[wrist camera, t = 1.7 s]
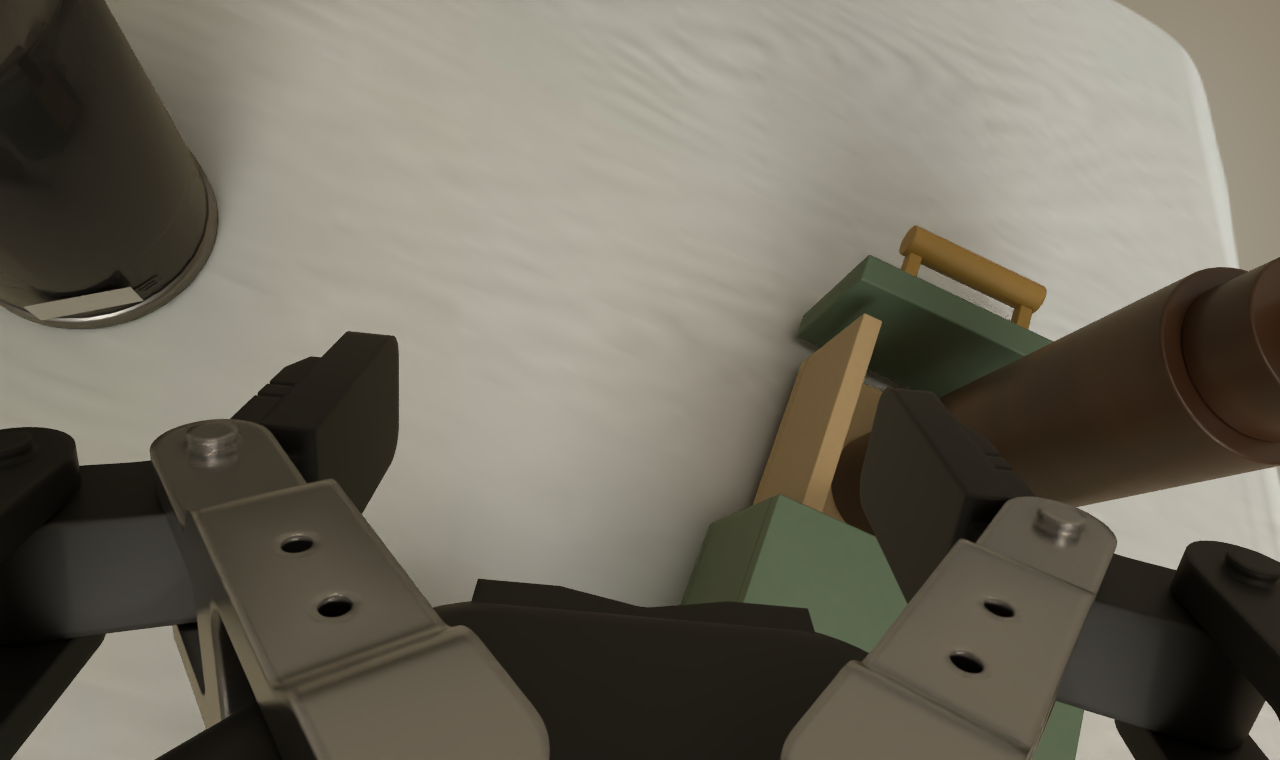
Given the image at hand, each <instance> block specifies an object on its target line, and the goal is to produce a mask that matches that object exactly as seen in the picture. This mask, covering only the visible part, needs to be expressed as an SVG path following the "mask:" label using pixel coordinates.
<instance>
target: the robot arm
mask: <svg viewBox="0 0 1280 760" xmlns="http://www.w3.org/2000/svg"><path fill="white" fill-rule="evenodd" d="M216 231H217V205H216V200H215V196H214V193H213V190H212V187H211V185H210V183H209V181H208V179H207V177H206V175H205V173H204V171H203V169H202V168H201V166H200V164H199V163H198V161H197V160H196V158H195V157H194V155H193V154H192V153H191V152H190V151H189V149H188V148H187V146H186V145H185V143H184V141H183V139H182V138H181V136H180V134H179V132H178V130H177V128H176V126H175V124H174V122H173V121H172V119H171V117H170V115H169V114H168V112H167V110H166V108H165V107H164V105H163V103H162V101H161V99H160V98H159V96H158V94H157V92H156V91H155V89H154V87H153V85H152V84H151V82H150V80H149V78H148V76H147V75H146V73H145V71H144V69H143V68H142V66H141V64H140V62H139V60H138V59H137V57H136V55H135V53H134V52H133V50H132V48H131V46H130V45H129V43H128V41H127V39H126V37H125V36H124V34H123V32H122V30H121V29H120V27H119V25H118V23H117V22H116V20H115V18H114V16H113V14H112V13H111V11H110V9H109V7H108V6H107V4H106V2H105V0H0V305H1V306H3V307H4V308H6V309H7V310H9V311H11V312H12V313H14V314H16V315H18V316H20V317H23V318H25V319H28V320H30V321H33V322H37V323H40V324H43V325H48V326H53V327H59V328H68V329H91V328H101V327H108V326H113V325H118V324H122V323H125V322H128V321H132V320H135V319H137V318H140V317H142V316H145V315H147V314H149V313H151V312H153V311H155V310H157V309H158V308H160V307H162V306H163V305H165V304H167V303H168V302H169V301H171V300H172V299H173V298H175V297H176V296H177V295H179V294H180V293H181V292H182V291H183V290H184V289H185V288H186V287H187V286H188V285H189V284H190V283H191V282H192V281H193V280H194V279H195V277H196V276H197V275H198V273H199V272H200V271H201V269H202V267H203V266H204V264H205V263H206V261H207V259H208V257H209V254H210V252H211V250H212V247H213V244H214V241H215V236H216ZM398 430H399V351H398V343H397V340H396V338H395V336H390V335H380V334H370V333H360V332H351V331H348V332H346V333H345V334H344V335H343V336H342V337H341V338H340V339H339V340H338V341H337V342H336V343H335V344H334V345H333V346H332V347H331V348H330V349H329V350H328V351H327V352H326V353H325V354H324V355H323V356H322V357H308V358H306V359H303V360H301V361H299V362H296V363H294V364H291V365H289V366H286V367H285V368H283V369H282V370H281V371H280V372H279V373H278V374H277V375H276V376H275V377H274V378H273V379H272V380H271V381H270V384H266V385H265V386H264V387H263V388H262V389H261V390H260V391H259V392H258V396H256V395H255V396H254V397H253V398H252V399H251V400H249V401H248V402H247V403H246V404H245V405H244V406H243V407H242V408H241V409H240V410H239V411H238V412H237V413H236V414H235V415H234V416H232V417H231V418H230V419H215V420H205V421H199V422H194V423H189V424H186V425H182V426H179V427H176V428H174V429H171V430H169V431H167V432H165V433H164V434H162V435H160V436H159V437H158V438H157V439H156V440H154V442H153V443H152V445H151V447H150V456H151V460H150V461H143V462H132V463H117V464H101V465H85V466H79V463H78V457H77V451H76V445H75V441H74V439H73V438H72V437H71V436H70V435H68V434H66V433H64V432H61V431H58V430H54V429H49V428H39V427H21V428H9V429H1V430H0V760H11V758H12V757H13V756H14V755H15V753H16V752H17V751H18V750H19V748H20V747H21V746H22V744H23V743H24V742H25V741H26V739H27V738H28V737H29V735H30V734H31V733H32V732H33V730H34V729H35V728H36V727H37V725H38V724H39V723H40V721H41V720H42V719H43V718H44V716H45V715H46V714H47V712H48V711H49V710H50V709H51V707H52V706H53V705H54V704H55V702H56V701H57V700H58V698H59V697H60V696H61V695H62V693H63V692H64V691H65V689H66V688H67V687H68V686H69V684H70V683H71V682H72V681H73V679H74V678H75V677H76V675H77V674H78V673H79V672H80V670H81V669H82V668H83V666H84V665H85V664H86V663H87V661H88V660H89V659H90V658H91V656H92V655H93V654H94V652H95V651H96V650H97V649H98V647H99V646H100V645H101V643H102V641H103V640H104V637H105V635H106V633H113V632H121V631H129V630H137V629H145V628H153V627H161V626H169V625H172V626H173V633H174V639H175V641H176V644H177V647H178V650H179V653H180V656H181V658H182V661H183V664H184V667H185V670H186V673H187V675H188V678H189V681H190V684H191V687H192V690H193V693H194V695H195V698H196V701H197V704H198V707H199V710H200V712H201V715H202V718H203V721H204V724H205V727H206V730H204V731H203V732H201V733H199V734H198V735H196V736H194V737H192V738H191V739H189V740H187V741H186V742H184V743H182V744H181V745H179V746H177V747H175V748H174V749H172V750H170V751H169V752H167V753H165V754H163V755H162V756H160V757H158V758H157V759H155V760H1033V757H1034V755H1035V752H1036V750H1037V747H1038V745H1039V742H1040V740H1041V738H1042V735H1043V733H1044V730H1045V728H1046V725H1047V723H1048V720H1049V718H1050V715H1051V713H1052V710H1053V708H1054V705H1055V703H1056V701H1058V702H1061V703H1064V704H1067V705H1070V706H1074V707H1077V708H1080V709H1083V710H1087V711H1090V712H1093V713H1096V714H1100V715H1103V716H1106V717H1109V718H1112V719H1115V724H1116V728H1117V730H1118V732H1119V734H1120V735H1121V737H1122V739H1123V740H1124V742H1125V744H1126V745H1127V747H1128V748H1129V750H1130V752H1131V753H1132V755H1133V757H1134V758H1135V760H1269V759H1268V758H1267V757H1266V755H1265V754H1264V753H1263V752H1262V750H1261V749H1260V748H1259V747H1258V746H1257V744H1256V743H1255V742H1254V741H1253V739H1252V738H1251V737H1250V736H1249V732H1250V730H1251V728H1252V726H1253V724H1254V722H1255V720H1256V718H1257V716H1258V714H1259V712H1260V710H1261V708H1262V706H1263V704H1264V703H1265V701H1267V702H1268V704H1269V705H1270V706H1271V707H1272V708H1273V710H1274V711H1275V713H1276V714H1277V716H1278V718H1279V721H1280V562H1278V561H1276V560H1274V559H1271V558H1269V557H1267V556H1265V555H1263V554H1261V553H1258V552H1256V551H1253V550H1249V549H1247V548H1243V547H1240V546H1237V545H1232V544H1228V543H1223V542H1217V541H1197V542H1193V543H1191V544H1189V545H1188V546H1187V547H1186V550H1185V552H1184V554H1183V557H1182V559H1181V561H1180V564H1179V566H1178V568H1177V570H1173V569H1169V568H1165V567H1161V566H1157V565H1154V564H1150V563H1146V562H1142V561H1138V560H1134V559H1130V558H1127V557H1123V556H1120V555H1117V554H1114V551H1115V549H1116V546H1117V539H1116V537H1115V535H1114V533H1113V532H1112V531H1111V530H1110V529H1109V527H1107V526H1106V525H1105V524H1104V523H1103V522H1101V521H1100V520H1098V519H1097V518H1095V517H1094V516H1092V515H1090V514H1089V513H1087V512H1085V511H1082V510H1080V509H1078V508H1076V507H1073V506H1071V505H1068V504H1065V503H1062V502H1059V501H1055V500H1051V499H1046V498H1040V497H1037V496H1036V495H1035V494H1034V493H1033V492H1032V491H1031V489H1030V488H1029V487H1028V486H1027V485H1026V484H1025V482H1024V481H1023V480H1022V479H1021V478H1020V477H1019V475H1018V474H1017V473H1016V472H1015V471H1012V467H1011V466H1010V465H1009V464H1008V463H1007V461H1006V460H1005V459H1004V458H1002V457H1000V453H999V452H998V451H997V450H996V449H995V448H994V446H993V445H992V444H991V443H990V442H989V441H988V439H987V438H985V437H984V436H982V435H981V434H979V433H977V432H976V431H974V430H973V429H971V428H969V427H968V426H966V425H965V424H963V423H959V422H958V421H957V420H956V419H955V418H954V416H953V415H952V414H951V413H950V412H949V410H948V409H947V408H946V407H945V405H944V404H943V403H942V402H941V401H940V399H939V398H938V397H937V396H936V395H935V394H934V393H933V392H930V391H921V390H911V389H901V388H891V387H887V388H886V389H885V390H884V391H883V392H882V394H881V396H880V399H879V402H878V405H877V409H876V413H875V418H874V422H873V426H872V430H871V434H870V438H869V442H868V447H867V451H866V455H865V459H864V463H863V467H862V472H861V478H860V500H861V505H862V508H863V511H864V513H865V515H866V517H867V519H868V521H869V524H870V526H871V528H872V530H873V532H874V534H875V536H876V538H877V541H878V543H879V545H880V547H881V549H882V551H883V553H884V555H885V558H886V560H887V562H888V564H889V566H890V568H891V570H892V572H893V574H894V577H895V579H896V581H897V583H898V585H899V587H900V589H901V591H902V594H903V596H904V598H905V600H906V602H907V604H908V605H907V606H906V607H905V608H904V610H903V611H902V612H901V613H900V615H899V616H898V617H897V619H896V620H895V621H894V622H893V624H892V625H891V626H890V627H889V629H888V630H887V631H886V632H885V634H884V635H883V636H882V638H881V639H880V640H879V641H878V643H877V644H876V645H875V646H874V648H873V649H872V650H871V651H870V653H868V652H866V651H864V650H862V649H860V648H858V647H856V646H853V645H851V644H849V643H847V642H844V641H842V640H839V639H836V638H833V637H830V636H827V635H824V634H821V633H817V632H815V630H814V627H813V623H812V620H811V617H810V613H809V610H808V608H798V607H787V606H775V605H764V604H753V603H742V602H731V601H725V602H713V603H701V604H689V605H677V606H665V607H650V608H647V607H639V606H634V605H631V604H627V603H623V602H619V601H615V600H611V599H608V598H604V597H600V596H596V595H592V594H588V593H585V592H581V591H577V590H573V589H569V588H565V587H562V586H553V585H542V584H531V583H519V582H508V581H497V580H486V579H478V581H477V584H476V587H475V591H474V594H473V598H472V601H470V602H460V603H454V604H448V605H442V606H438V607H434V608H432V606H431V605H430V604H429V602H428V601H427V600H426V598H425V597H424V596H423V594H422V593H421V592H420V590H419V589H418V588H417V587H416V585H415V584H414V583H413V581H412V580H411V579H410V577H409V576H408V575H407V573H406V572H405V571H404V569H403V568H402V567H401V565H400V564H399V563H398V562H397V560H396V559H395V558H394V556H393V555H392V554H391V552H390V551H389V550H388V548H387V547H386V546H385V544H384V543H383V542H382V541H381V539H380V538H379V537H378V535H377V534H376V533H375V531H374V530H373V529H372V527H371V526H370V525H369V523H368V522H367V521H366V519H365V518H364V517H363V516H362V513H363V511H364V509H365V508H366V506H367V504H368V502H369V501H370V499H371V497H372V495H373V494H374V492H375V490H376V488H377V487H378V485H379V483H380V482H381V480H382V478H383V476H384V475H385V473H386V471H387V469H388V468H389V466H390V464H391V462H392V460H393V457H394V454H395V450H396V446H397V440H398Z"/></svg>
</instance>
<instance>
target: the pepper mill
mask: <svg viewBox="0 0 1280 760" xmlns="http://www.w3.org/2000/svg"><path fill="white" fill-rule="evenodd" d="M939 399H940V401H941V402H942V403H943V404H944V405H945V407H946V408H947V409H948V410H949V412H950V413H951V414H952V415H953V416H954V418H955V419H956V420H957V421H958V422H959V423H963V424H965V425H966V426H968V427H969V428H971V429H973V430H974V431H976V432H977V433H979V434H981V435H982V436H984V437H985V438H987V439H988V441H989V442H990V443H991V444H992V445H993V446H994V448H995V449H996V450H997V451H998V452H999V453H1000V457H1002V458H1004V459H1005V460H1006V461H1007V463H1008V464H1009V465H1010V466H1011V467H1012V471H1015V472H1016V473H1017V474H1018V475H1019V477H1020V478H1021V479H1022V480H1023V481H1024V482H1025V484H1026V485H1027V486H1028V487H1029V488H1030V489H1031V491H1032V492H1033V493H1034V494H1035V495H1036V496H1037V497H1040V498H1046V499H1051V500H1055V501H1059V502H1062V503H1065V504H1068V505H1071V506H1073V507H1079V506H1084V505H1089V504H1094V503H1099V502H1104V501H1109V500H1114V499H1119V498H1124V497H1128V496H1133V495H1138V494H1143V493H1148V492H1153V491H1158V490H1163V489H1168V488H1173V487H1177V486H1182V485H1187V484H1192V483H1197V482H1202V481H1207V480H1212V479H1217V478H1222V477H1226V476H1231V475H1236V474H1241V473H1246V472H1251V471H1256V470H1261V469H1266V468H1271V467H1275V466H1280V257H1279V258H1277V259H1275V260H1272V261H1270V262H1268V263H1266V264H1264V265H1262V266H1259V267H1257V268H1255V269H1253V270H1251V271H1249V272H1248V271H1245V270H1241V269H1236V268H1226V267H1217V268H1208V269H1204V270H1200V271H1197V272H1195V273H1193V274H1191V275H1189V276H1187V277H1185V278H1183V279H1181V280H1179V281H1177V282H1175V283H1173V284H1170V285H1168V286H1166V287H1164V288H1162V289H1160V290H1158V291H1156V292H1154V293H1152V294H1150V295H1148V296H1146V297H1144V298H1142V299H1140V300H1138V301H1136V302H1134V303H1132V304H1130V305H1128V306H1126V307H1124V308H1122V309H1120V310H1118V311H1115V312H1113V313H1111V314H1109V315H1107V316H1105V317H1103V318H1101V319H1099V320H1097V321H1095V322H1093V323H1091V324H1089V325H1087V326H1085V327H1083V328H1081V329H1079V330H1077V331H1075V332H1073V333H1071V334H1069V335H1067V336H1065V337H1063V338H1060V339H1058V340H1056V341H1054V342H1052V343H1050V344H1048V345H1046V346H1044V347H1042V348H1040V349H1038V350H1036V351H1034V352H1032V353H1030V354H1028V355H1026V356H1024V357H1022V358H1020V359H1018V360H1016V361H1014V362H1012V363H1010V364H1008V365H1006V366H1003V367H1001V368H999V369H997V370H995V371H993V372H991V373H989V374H987V375H985V376H983V377H981V378H979V379H977V380H975V381H973V382H971V383H969V384H967V385H965V386H963V387H961V388H959V389H957V390H955V391H953V392H951V393H948V394H946V395H944V396H942V397H940V398H939ZM870 434H871V432H869V433H867V434H865V435H863V436H861V437H859V438H857V439H855V440H853V441H852V442H850V443H849V444H848V445H847V446H846V447H844V449H843V450H842V451H841V454H840V458H839V461H838V464H837V467H836V470H835V474H834V477H833V480H832V483H831V487H832V494H833V498H834V502H835V504H836V507H837V509H838V511H839V513H840V515H841V516H842V518H843V519H844V521H845V522H846V523H847V524H849V525H851V526H853V527H856V528H858V529H860V530H862V531H865V532H867V533H869V534H871V535H874V536H875V534H874V532H873V530H872V528H871V526H870V524H869V521H868V519H867V517H866V515H865V513H864V511H863V508H862V505H861V500H860V478H861V472H862V467H863V463H864V459H865V455H866V451H867V447H868V442H869V438H870Z"/></svg>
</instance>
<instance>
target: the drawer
mask: <svg viewBox="0 0 1280 760" xmlns="http://www.w3.org/2000/svg"><path fill="white" fill-rule="evenodd" d="M899 253H900V254H901V255H903V256H905V258H904V261H903V264H902V268H901V269H899V268H896V267H894V266H892V265H890V264H888V263H886V262H884V261H882V260H880V259H877V258H875V257H873V256H871V255H868V256H867V257H866V258H865V259H864V260H863V261H862V262H861V263H860V264H859V265H858V266H857V267H855V268H854V269H853V270H852V271H851V272H850V273H849V274H848V275H847V276H846V277H845V278H844V279H842V280H841V281H840V282H839V283H838V284H837V285H836V286H835V287H834V288H833V289H832V290H831V291H830V292H828V293H827V294H826V295H825V296H824V297H823V298H822V299H821V300H820V301H819V302H818V303H817V304H816V305H814V306H813V307H812V308H811V309H810V310H809V311H808V312H807V313H806V314H805V315H804V316H803V319H802V322H801V324H800V327H799V330H798V333H797V336H798V337H800V338H802V339H804V340H807V341H809V342H811V343H813V344H815V345H817V346H820V347H821V348H820V349H819V350H817V351H816V352H815V353H814V354H812V355H811V356H810V357H809V358H807V359H806V360H805V361H804V362H802V364H801V367H800V370H799V372H798V375H797V378H796V381H795V384H794V387H793V390H792V393H791V396H790V398H789V401H788V404H787V407H786V410H785V413H784V416H783V419H782V422H781V424H780V427H779V430H778V433H777V436H776V439H775V442H774V445H773V447H772V450H771V453H770V456H769V459H768V462H767V465H766V468H765V471H764V473H763V476H762V479H761V482H760V485H759V488H758V491H757V494H756V497H755V499H754V502H753V505H755V504H757V503H759V502H761V501H764V500H766V499H768V498H771V497H773V496H776V495H778V494H782V495H784V496H786V497H788V498H791V499H793V500H795V501H797V502H800V503H802V504H804V505H806V506H809V507H811V508H813V509H815V510H817V511H820V512H822V513H824V514H826V515H829V516H831V517H833V518H835V519H838V520H840V521H842V522H844V523H846V522H845V521H844V519H843V518H842V516H841V515H840V513H839V511H838V509H837V507H836V504H835V502H834V498H833V494H832V487H831V483H832V480H833V477H834V474H835V470H836V467H837V464H838V461H839V458H840V454H841V451H842V450H843V449H844V447H846V446H847V445H848V444H849V443H850V442H852V441H853V440H855V439H857V438H859V437H861V436H863V435H865V434H867V433H869V432H871V430H872V426H873V422H874V418H875V413H876V409H877V405H878V402H879V399H880V396H881V394H882V391H880V390H878V389H876V388H874V387H872V386H869V385H867V384H865V383H863V381H864V378H865V375H866V372H867V369H869V370H872V371H874V372H876V373H878V374H880V375H882V376H885V377H887V378H889V379H891V380H893V381H895V382H898V383H900V384H902V385H904V386H906V387H908V388H911V389H913V390H921V391H930V392H933V393H934V394H935V395H936V396H937V397H938V398H940V397H942V396H944V395H946V394H948V393H951V392H953V391H955V390H957V389H959V388H961V387H963V386H965V385H967V384H969V383H971V382H973V381H975V380H977V379H979V378H981V377H983V376H985V375H987V374H989V373H991V372H993V371H995V370H997V369H999V368H1001V367H1003V366H1006V365H1008V364H1010V363H1012V362H1014V361H1016V360H1018V359H1020V358H1022V357H1024V356H1026V355H1028V354H1030V353H1032V352H1034V351H1036V350H1038V349H1040V348H1042V347H1044V346H1046V345H1048V344H1050V343H1052V342H1053V341H1051V340H1049V339H1047V338H1045V337H1042V336H1040V335H1038V334H1036V333H1034V332H1032V331H1030V330H1028V328H1029V324H1030V320H1031V316H1032V314H1033V313H1034V312H1036V311H1037V310H1038V309H1039V308H1040V306H1041V305H1042V303H1043V301H1044V299H1045V297H1046V288H1045V287H1044V286H1042V285H1040V284H1038V283H1036V282H1034V281H1032V280H1030V279H1027V278H1025V277H1023V276H1021V275H1019V274H1017V273H1015V272H1013V271H1011V270H1009V269H1007V268H1004V267H1002V266H1000V265H998V264H996V263H994V262H992V261H990V260H988V259H986V258H984V257H981V256H979V255H977V254H975V253H973V252H971V251H969V250H967V249H965V248H963V247H960V246H958V245H956V244H954V243H952V242H950V241H948V240H946V239H944V238H942V237H940V236H937V235H935V234H933V233H931V232H929V231H927V230H925V229H923V228H921V227H919V226H913V227H912V228H911V229H910V230H909V231H908V232H907V234H906V235H905V237H904V239H903V241H902V243H901V246H900V250H899ZM920 264H922V265H924V266H926V267H928V268H930V269H932V270H934V271H936V272H939V273H941V274H943V275H945V276H947V277H949V278H951V279H953V280H955V281H958V282H960V283H962V284H964V285H966V286H968V287H970V288H972V289H974V290H977V291H979V292H981V293H983V294H985V295H987V296H989V297H991V298H993V299H996V300H998V301H1000V302H1002V303H1004V304H1006V305H1008V306H1010V307H1012V308H1015V309H1014V311H1013V314H1012V318H1011V321H1009V320H1006V319H1004V318H1002V317H1000V316H998V315H996V314H994V313H992V312H990V311H987V310H985V309H983V308H981V307H979V306H977V305H975V304H973V303H971V302H968V301H966V300H964V299H962V298H960V297H958V296H956V295H954V294H951V293H949V292H947V291H945V290H943V289H941V288H939V287H937V286H935V285H932V284H930V283H928V282H926V281H924V280H922V279H920V278H918V277H917V274H918V270H919V267H920Z"/></svg>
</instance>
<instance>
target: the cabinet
mask: <svg viewBox="0 0 1280 760" xmlns="http://www.w3.org/2000/svg"><path fill="white" fill-rule="evenodd" d="M725 601H731V602H742V603H753V604H764V605H775V606H787V607H798V608H808V610H809V613H810V617H811V620H812V623H813V627H814V630H815V632H817V633H821V634H824V635H827V636H830V637H833V638H836V639H839V640H842V641H844V642H847V643H849V644H851V645H853V646H856V647H858V648H860V649H862V650H864V651H866V652H868V653H870V651H871V650H872V649H873V648H874V646H875V645H876V644H877V643H878V641H879V640H880V639H881V638H882V636H883V635H884V634H885V632H886V631H887V630H888V629H889V627H890V626H891V625H892V624H893V622H894V621H895V620H896V619H897V617H898V616H899V615H900V613H901V612H902V611H903V610H904V608H905V607H906V606H907V605H908V604H907V602H906V600H905V598H904V596H903V594H902V591H901V589H900V587H899V585H898V583H897V581H896V579H895V577H894V574H893V572H892V570H891V568H890V566H889V564H888V562H887V560H886V558H885V555H884V553H883V551H882V549H881V547H880V545H879V543H878V541H877V538H876V536H874V535H871V534H869V533H867V532H865V531H862V530H860V529H858V528H856V527H853V526H851V525H849V524H847V523H844V522H842V521H840V520H838V519H835V518H833V517H831V516H829V515H826V514H824V513H822V512H820V511H817V510H815V509H813V508H811V507H809V506H806V505H804V504H802V503H800V502H797V501H795V500H793V499H791V498H788V497H786V496H784V495H782V494H778V495H776V496H773V497H771V498H768V499H766V500H764V501H761V502H759V503H757V504H755V505H752V506H750V507H748V508H745V509H743V510H741V511H739V512H736V513H734V514H732V515H729V516H727V517H725V518H723V519H720V520H718V521H716V522H714V523H712V524H710V526H709V529H708V531H707V534H706V537H705V540H704V542H703V545H702V548H701V551H700V554H699V556H698V559H697V562H696V565H695V567H694V570H693V573H692V576H691V578H690V581H689V584H688V587H687V589H686V592H685V595H684V598H683V600H682V603H681V605H689V604H701V603H713V602H725ZM1083 713H1084V710H1083V709H1080V708H1077V707H1074V706H1070V705H1067V704H1064V703H1061V702H1058V701H1056V703H1055V705H1054V708H1053V710H1052V713H1051V715H1050V718H1049V720H1048V723H1047V725H1046V728H1045V730H1044V733H1043V735H1042V738H1041V740H1040V742H1039V745H1038V747H1037V750H1036V752H1035V755H1034V757H1033V760H1075V757H1076V751H1077V746H1078V740H1079V735H1080V729H1081V724H1082V718H1083Z"/></svg>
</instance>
